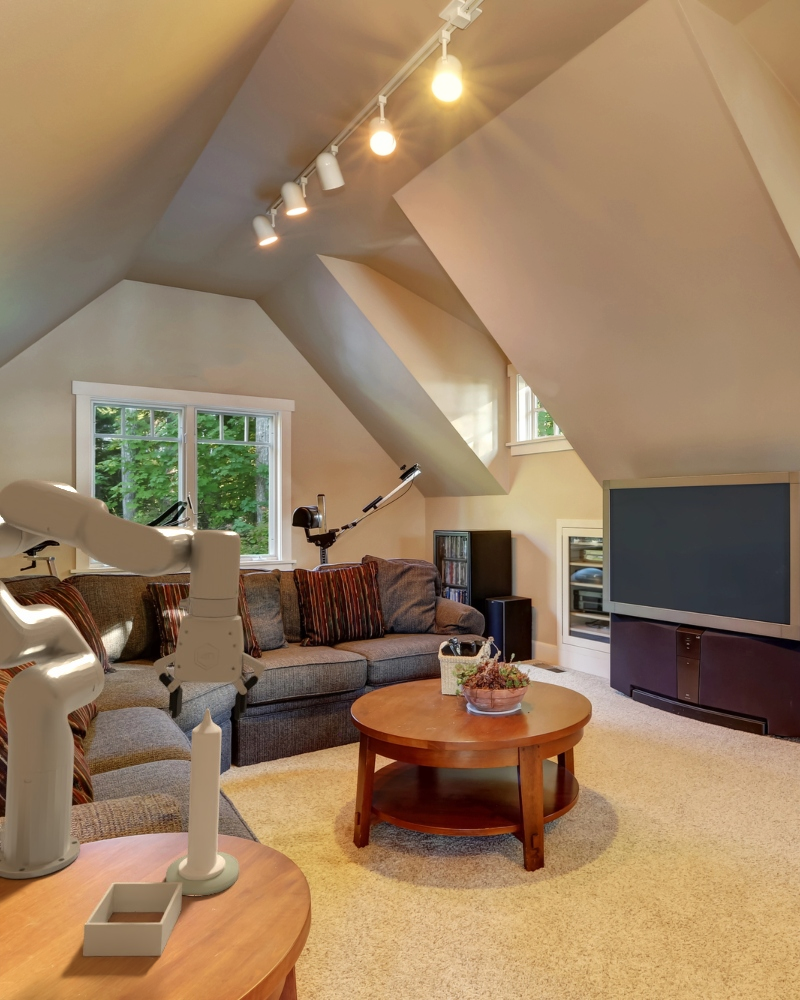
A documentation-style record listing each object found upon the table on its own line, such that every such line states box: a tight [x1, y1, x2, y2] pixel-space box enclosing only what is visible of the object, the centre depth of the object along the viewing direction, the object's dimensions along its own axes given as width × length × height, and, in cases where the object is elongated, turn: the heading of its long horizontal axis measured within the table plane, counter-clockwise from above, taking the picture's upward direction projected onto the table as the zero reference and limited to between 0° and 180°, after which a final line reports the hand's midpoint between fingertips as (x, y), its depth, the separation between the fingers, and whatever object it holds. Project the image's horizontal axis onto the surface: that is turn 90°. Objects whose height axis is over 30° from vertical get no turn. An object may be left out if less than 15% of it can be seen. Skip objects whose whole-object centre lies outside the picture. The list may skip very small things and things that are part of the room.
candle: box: [178, 708, 225, 881], centre depth 105 cm, size 7×7×25 cm
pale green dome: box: [165, 851, 240, 896], centre depth 105 cm, size 11×11×1 cm
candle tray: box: [82, 881, 183, 957], centre depth 91 cm, size 10×10×4 cm
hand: (207, 716), depth 105 cm, fingers open, 9 cm apart
